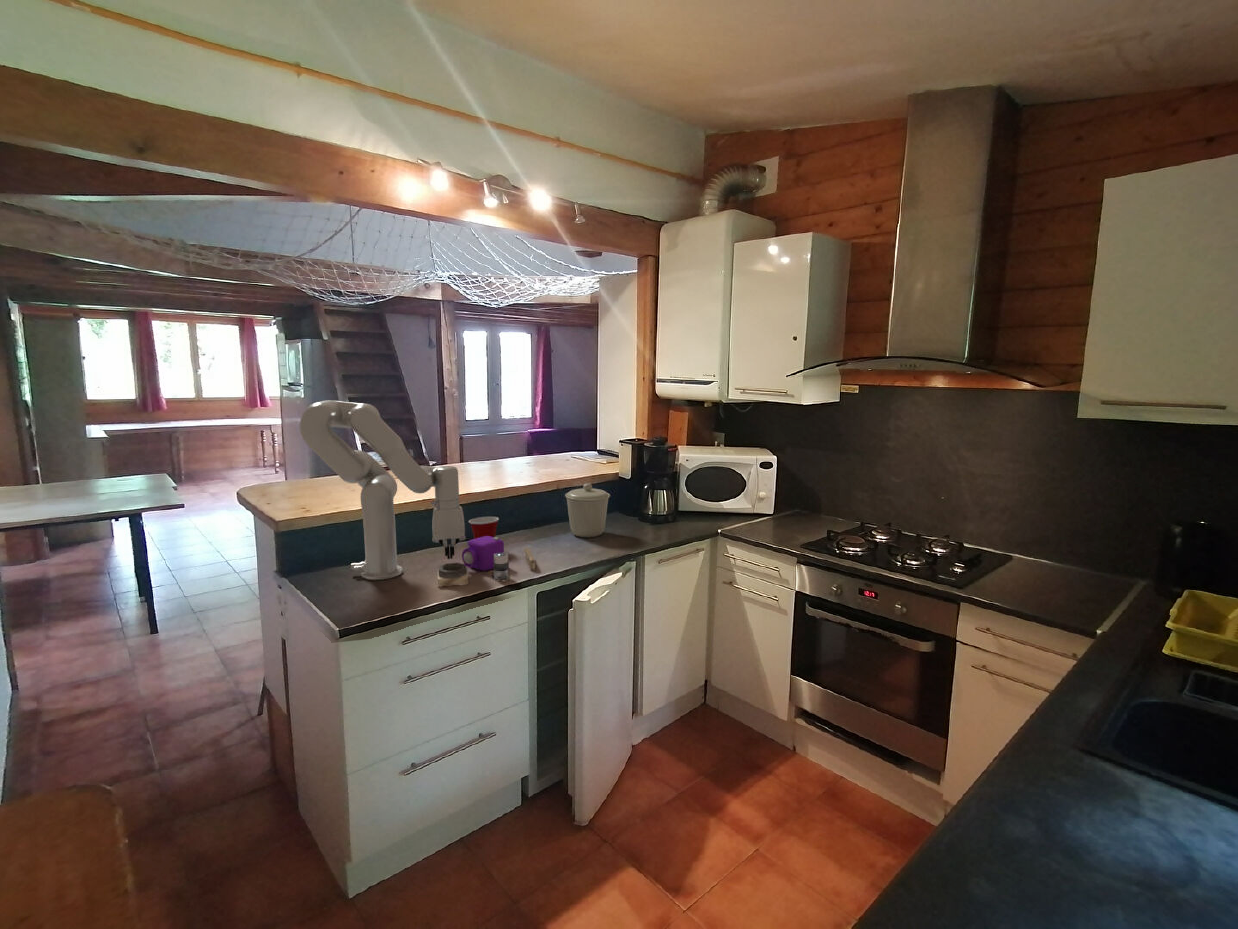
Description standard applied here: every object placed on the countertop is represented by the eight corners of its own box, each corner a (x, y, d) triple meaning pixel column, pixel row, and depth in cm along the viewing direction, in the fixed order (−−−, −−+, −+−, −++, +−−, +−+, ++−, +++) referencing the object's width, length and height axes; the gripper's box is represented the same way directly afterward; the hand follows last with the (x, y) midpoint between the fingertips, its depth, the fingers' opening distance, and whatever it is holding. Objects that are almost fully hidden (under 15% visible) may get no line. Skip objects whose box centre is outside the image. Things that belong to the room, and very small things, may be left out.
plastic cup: (484, 544, 232) (483, 513, 230) (505, 549, 226) (505, 517, 224) (463, 551, 223) (462, 519, 221) (484, 556, 217) (483, 524, 215)
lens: (494, 581, 192) (493, 557, 191) (493, 576, 197) (492, 552, 195) (509, 580, 194) (509, 556, 192) (508, 575, 198) (507, 551, 197)
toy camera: (456, 570, 202) (455, 541, 201) (483, 559, 214) (482, 532, 212) (481, 576, 197) (481, 546, 196) (508, 564, 209) (507, 536, 208)
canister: (596, 526, 260) (596, 478, 257) (617, 536, 245) (618, 485, 241) (557, 531, 251) (557, 481, 247) (577, 542, 236) (577, 489, 232)
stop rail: (530, 570, 203) (530, 560, 203) (525, 557, 217) (524, 548, 216) (535, 570, 204) (535, 560, 203) (529, 557, 217) (529, 548, 216)
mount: (438, 587, 187) (437, 573, 186) (438, 577, 195) (437, 564, 195) (468, 584, 189) (467, 570, 189) (466, 575, 198) (466, 561, 197)
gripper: (423, 508, 193) (426, 563, 196) (471, 505, 197) (473, 559, 200) (423, 502, 200) (426, 556, 203) (470, 500, 205) (472, 552, 208)
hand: (449, 557), depth 202 cm, fingers closed
